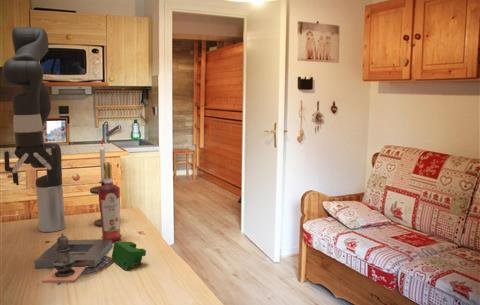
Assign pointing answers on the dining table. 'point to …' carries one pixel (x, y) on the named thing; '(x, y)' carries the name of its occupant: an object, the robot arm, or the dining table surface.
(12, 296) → the dining table surface
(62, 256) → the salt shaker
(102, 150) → the candlestick
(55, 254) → the grey square frame
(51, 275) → the tile
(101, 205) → the liquor
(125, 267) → the clamp
